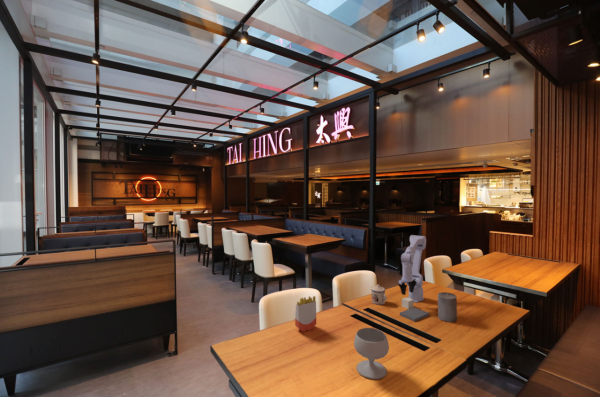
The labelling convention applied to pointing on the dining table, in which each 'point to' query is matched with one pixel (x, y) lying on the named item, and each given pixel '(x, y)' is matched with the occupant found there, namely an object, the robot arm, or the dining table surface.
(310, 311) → the french fries container
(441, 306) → the pillar candle
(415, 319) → the serving board
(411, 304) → the cube
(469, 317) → the dining table surface
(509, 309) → the dining table surface
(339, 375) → the dining table surface
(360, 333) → the chalice
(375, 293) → the teacup with lid
